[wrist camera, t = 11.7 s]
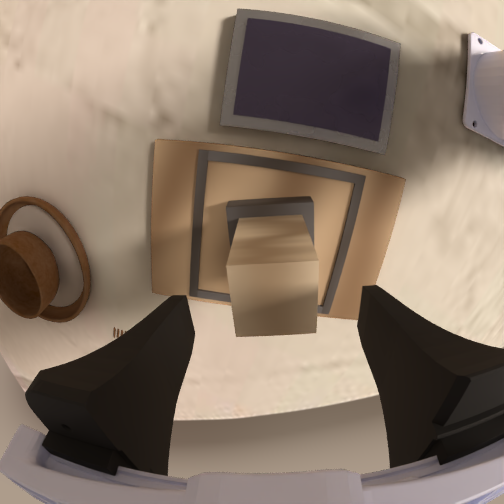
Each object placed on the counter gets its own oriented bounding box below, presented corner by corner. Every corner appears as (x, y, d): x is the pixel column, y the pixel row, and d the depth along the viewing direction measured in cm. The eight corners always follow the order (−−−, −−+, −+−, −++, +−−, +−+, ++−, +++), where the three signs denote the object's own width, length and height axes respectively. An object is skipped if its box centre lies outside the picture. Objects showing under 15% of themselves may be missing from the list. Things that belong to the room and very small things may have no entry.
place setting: (132, 211, 20) (91, 244, 15) (132, 388, 28) (115, 429, 23) (-14, 182, 19) (-57, 200, 14) (14, 338, 27) (-10, 367, 22)
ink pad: (394, 46, 14) (401, 43, 13) (379, 153, 17) (386, 155, 16) (239, 14, 14) (237, 7, 13) (222, 125, 17) (219, 125, 16)
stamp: (310, 195, 18) (337, 243, 11) (310, 268, 20) (330, 343, 13) (228, 200, 18) (206, 250, 11) (236, 272, 20) (222, 348, 13)
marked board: (402, 177, 18) (407, 180, 17) (359, 315, 22) (362, 321, 21) (158, 139, 17) (154, 140, 17) (154, 288, 22) (151, 294, 21)
